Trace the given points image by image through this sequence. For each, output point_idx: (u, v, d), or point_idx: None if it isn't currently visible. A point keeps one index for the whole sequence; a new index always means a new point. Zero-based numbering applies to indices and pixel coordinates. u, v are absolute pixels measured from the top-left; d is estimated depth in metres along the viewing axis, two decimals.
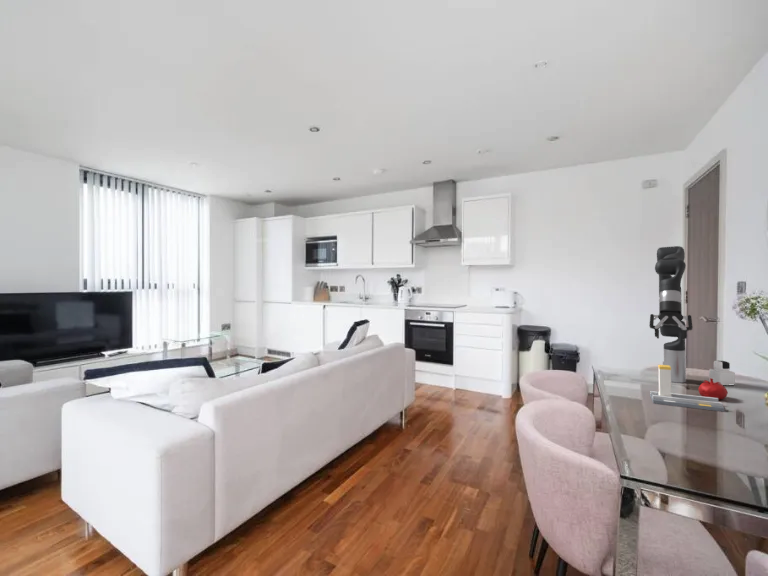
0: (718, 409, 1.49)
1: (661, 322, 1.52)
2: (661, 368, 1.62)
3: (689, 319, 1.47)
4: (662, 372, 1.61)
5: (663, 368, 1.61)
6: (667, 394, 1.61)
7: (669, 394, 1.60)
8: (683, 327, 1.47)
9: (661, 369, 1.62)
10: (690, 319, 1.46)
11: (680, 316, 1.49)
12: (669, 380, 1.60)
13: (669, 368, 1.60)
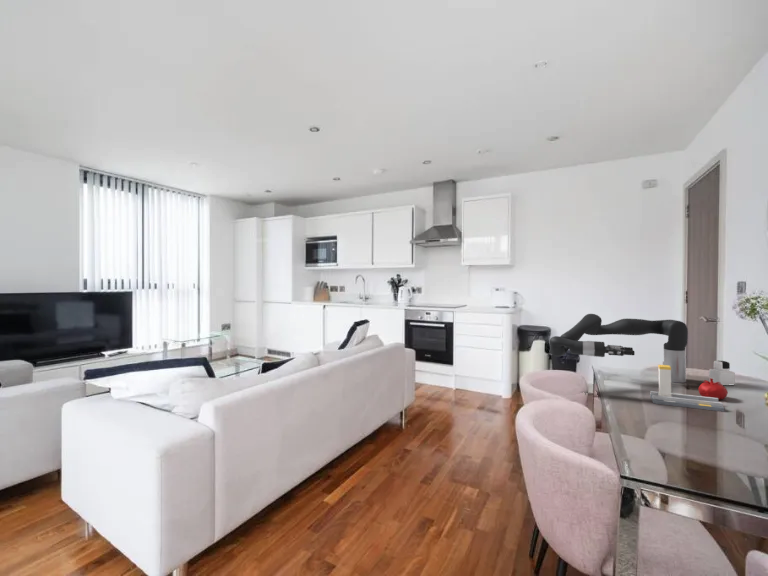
0: (718, 409, 1.49)
1: (617, 347, 1.69)
2: (661, 368, 1.62)
3: (611, 345, 1.78)
4: (662, 372, 1.61)
5: (663, 368, 1.61)
6: (667, 394, 1.61)
7: (669, 394, 1.60)
8: (620, 346, 1.74)
9: (661, 369, 1.62)
10: (611, 345, 1.78)
11: (608, 346, 1.76)
12: (669, 380, 1.60)
13: (669, 368, 1.60)
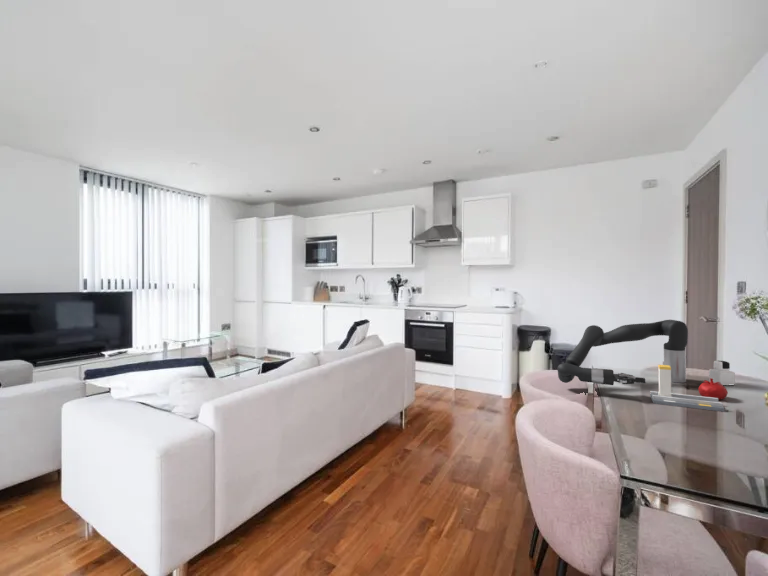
0: (718, 409, 1.49)
1: (626, 375, 1.69)
2: (661, 368, 1.62)
3: None
4: (662, 372, 1.61)
5: (663, 368, 1.61)
6: (667, 394, 1.61)
7: (669, 394, 1.60)
8: (632, 376, 1.69)
9: (661, 369, 1.62)
10: None
11: (617, 374, 1.75)
12: (669, 380, 1.60)
13: (669, 368, 1.60)
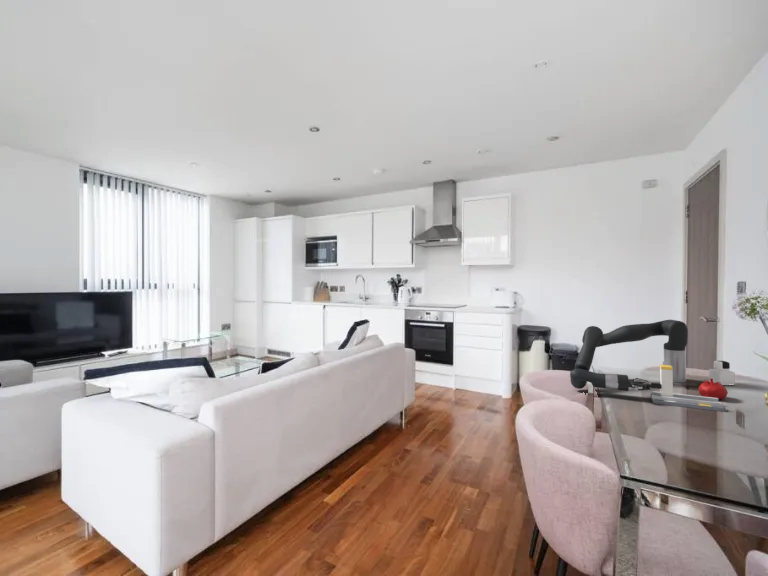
0: (718, 409, 1.49)
1: (642, 381, 1.66)
2: (663, 368, 1.61)
3: (639, 379, 1.71)
4: (664, 372, 1.61)
5: (665, 368, 1.61)
6: (669, 394, 1.60)
7: (671, 394, 1.60)
8: (647, 382, 1.66)
9: (663, 369, 1.61)
10: (639, 379, 1.71)
11: (632, 379, 1.71)
12: (671, 380, 1.60)
13: (671, 368, 1.60)
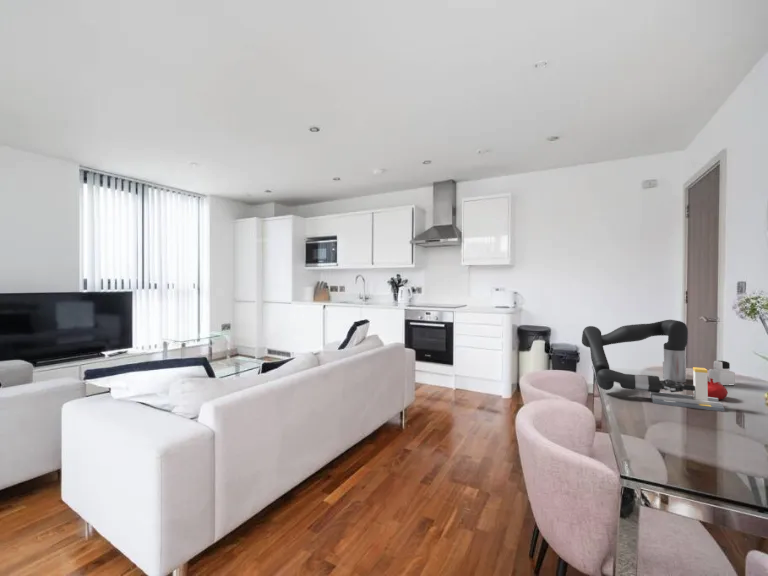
0: (718, 409, 1.49)
1: (674, 382, 1.60)
2: (697, 371, 1.55)
3: (670, 380, 1.65)
4: (698, 375, 1.55)
5: (699, 371, 1.55)
6: (703, 398, 1.54)
7: (705, 398, 1.54)
8: (680, 383, 1.60)
9: (697, 372, 1.55)
10: (670, 380, 1.65)
11: None
12: (705, 383, 1.54)
13: (705, 371, 1.54)
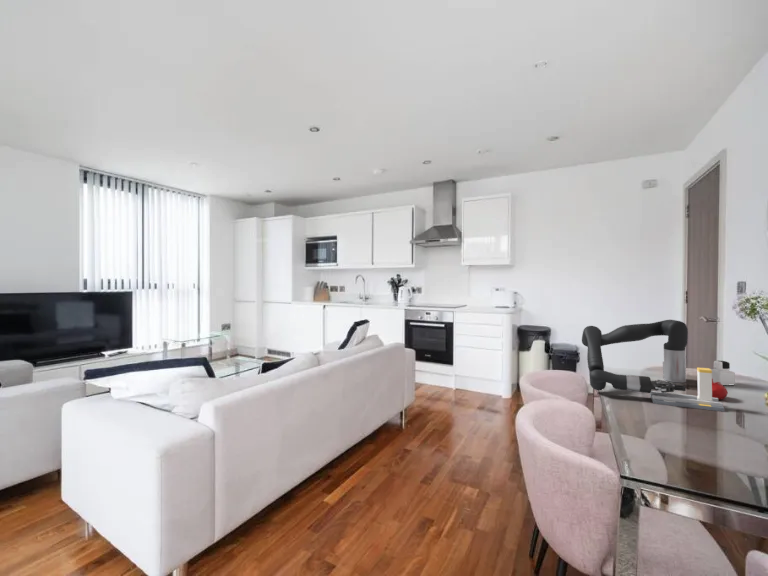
0: (718, 409, 1.49)
1: (665, 383, 1.61)
2: (701, 371, 1.54)
3: (661, 380, 1.66)
4: (702, 375, 1.54)
5: (703, 371, 1.54)
6: (707, 398, 1.54)
7: (710, 398, 1.53)
8: (671, 384, 1.61)
9: (701, 372, 1.54)
10: None
11: (654, 381, 1.67)
12: (710, 384, 1.53)
13: (710, 371, 1.53)
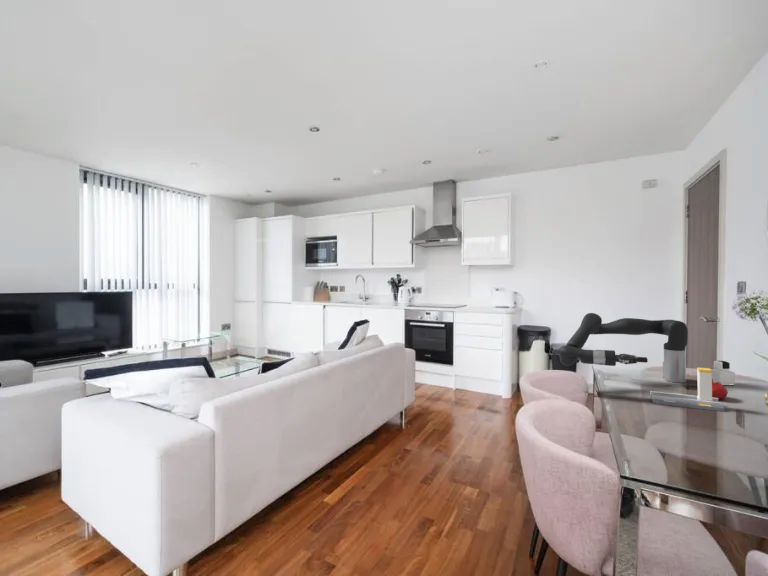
0: (718, 409, 1.49)
1: (628, 355, 1.68)
2: (701, 371, 1.54)
3: (626, 354, 1.74)
4: (702, 375, 1.54)
5: (703, 371, 1.54)
6: (707, 398, 1.54)
7: (710, 398, 1.53)
8: (634, 356, 1.68)
9: (701, 372, 1.54)
10: (626, 354, 1.74)
11: None
12: (710, 384, 1.53)
13: (710, 371, 1.53)
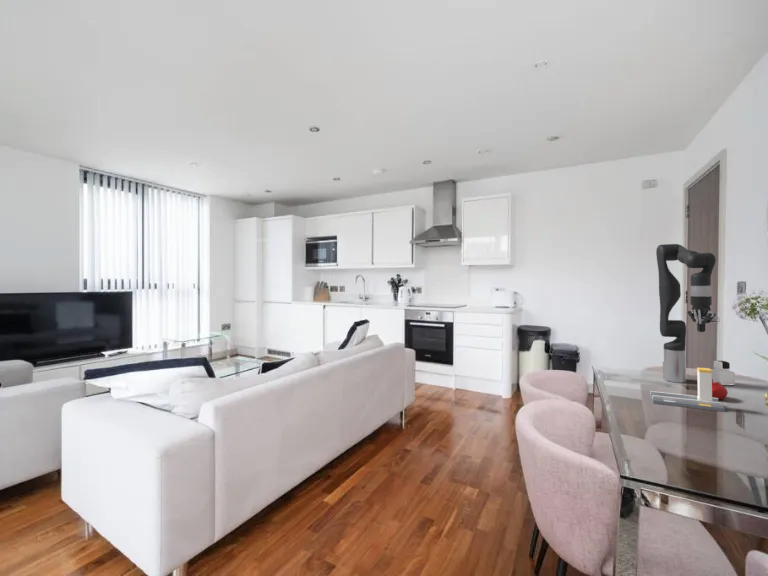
0: (718, 409, 1.49)
1: None
2: (701, 371, 1.54)
3: None
4: (702, 375, 1.54)
5: (703, 371, 1.54)
6: (707, 398, 1.54)
7: (710, 398, 1.53)
8: None
9: (701, 372, 1.54)
10: None
11: None
12: (710, 384, 1.53)
13: (710, 371, 1.53)
